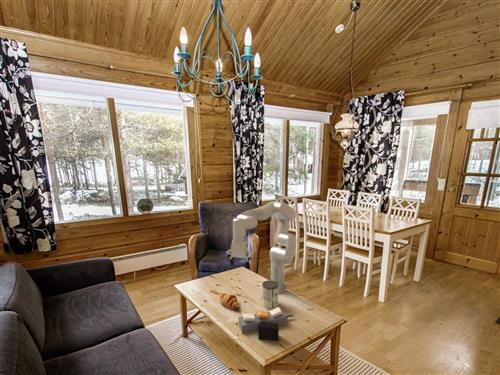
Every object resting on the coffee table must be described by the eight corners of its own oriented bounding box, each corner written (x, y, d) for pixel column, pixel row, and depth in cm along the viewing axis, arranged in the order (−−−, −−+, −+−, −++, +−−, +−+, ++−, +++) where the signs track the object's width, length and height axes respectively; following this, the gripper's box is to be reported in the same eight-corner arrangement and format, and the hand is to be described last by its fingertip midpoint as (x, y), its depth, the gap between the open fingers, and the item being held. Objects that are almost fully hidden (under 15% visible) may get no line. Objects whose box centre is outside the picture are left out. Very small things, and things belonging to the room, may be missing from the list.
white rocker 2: (279, 309, 144) (278, 307, 143) (281, 313, 140) (281, 311, 140) (269, 313, 142) (269, 311, 142) (272, 317, 138) (271, 315, 138)
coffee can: (264, 299, 165) (264, 279, 164) (279, 301, 162) (279, 281, 160) (260, 307, 155) (260, 286, 154) (276, 310, 152) (276, 289, 151)
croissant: (217, 302, 167) (212, 294, 164) (228, 292, 172) (223, 284, 170) (234, 317, 150) (229, 308, 148) (246, 305, 156) (241, 296, 153)
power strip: (289, 314, 148) (289, 307, 148) (295, 322, 140) (295, 315, 140) (238, 323, 140) (238, 316, 139) (241, 333, 132) (241, 325, 132)
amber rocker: (265, 314, 142) (266, 311, 142) (268, 318, 138) (268, 315, 138) (256, 313, 140) (256, 310, 140) (258, 317, 136) (258, 314, 136)
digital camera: (278, 334, 131) (278, 321, 130) (278, 341, 126) (278, 328, 125) (259, 332, 133) (259, 320, 132) (258, 339, 127) (258, 326, 127)
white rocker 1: (252, 316, 139) (253, 314, 139) (254, 321, 136) (255, 318, 136) (242, 316, 138) (243, 313, 138) (244, 320, 134) (245, 317, 134)
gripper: (255, 238, 147) (255, 265, 149) (228, 235, 153) (229, 262, 154) (250, 241, 140) (251, 270, 142) (223, 239, 146) (223, 266, 147)
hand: (239, 266), depth 148 cm, fingers open, 9 cm apart
